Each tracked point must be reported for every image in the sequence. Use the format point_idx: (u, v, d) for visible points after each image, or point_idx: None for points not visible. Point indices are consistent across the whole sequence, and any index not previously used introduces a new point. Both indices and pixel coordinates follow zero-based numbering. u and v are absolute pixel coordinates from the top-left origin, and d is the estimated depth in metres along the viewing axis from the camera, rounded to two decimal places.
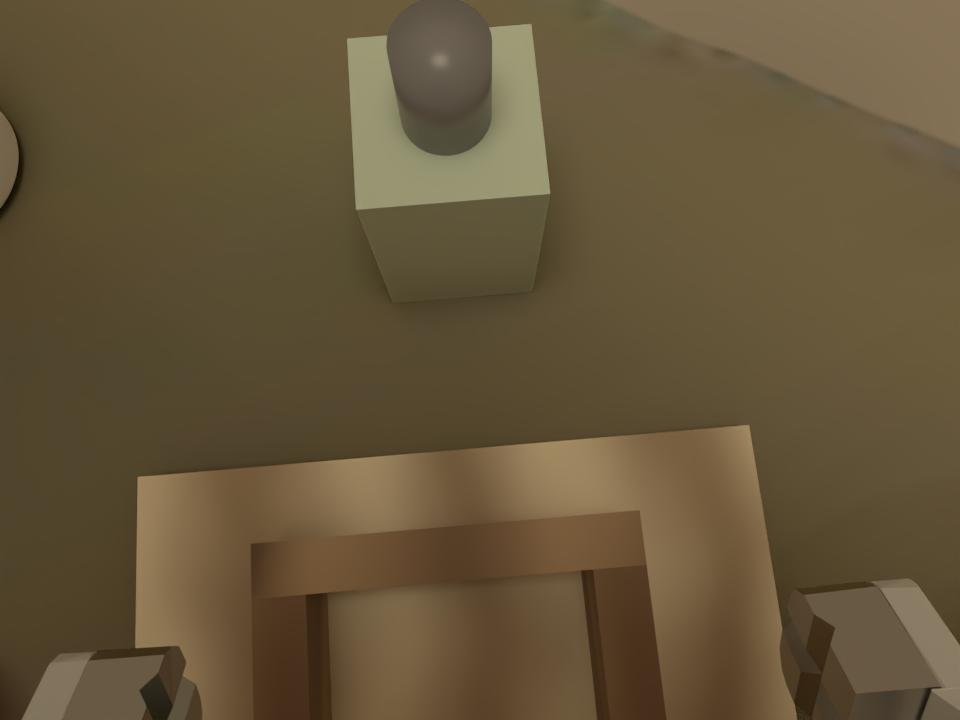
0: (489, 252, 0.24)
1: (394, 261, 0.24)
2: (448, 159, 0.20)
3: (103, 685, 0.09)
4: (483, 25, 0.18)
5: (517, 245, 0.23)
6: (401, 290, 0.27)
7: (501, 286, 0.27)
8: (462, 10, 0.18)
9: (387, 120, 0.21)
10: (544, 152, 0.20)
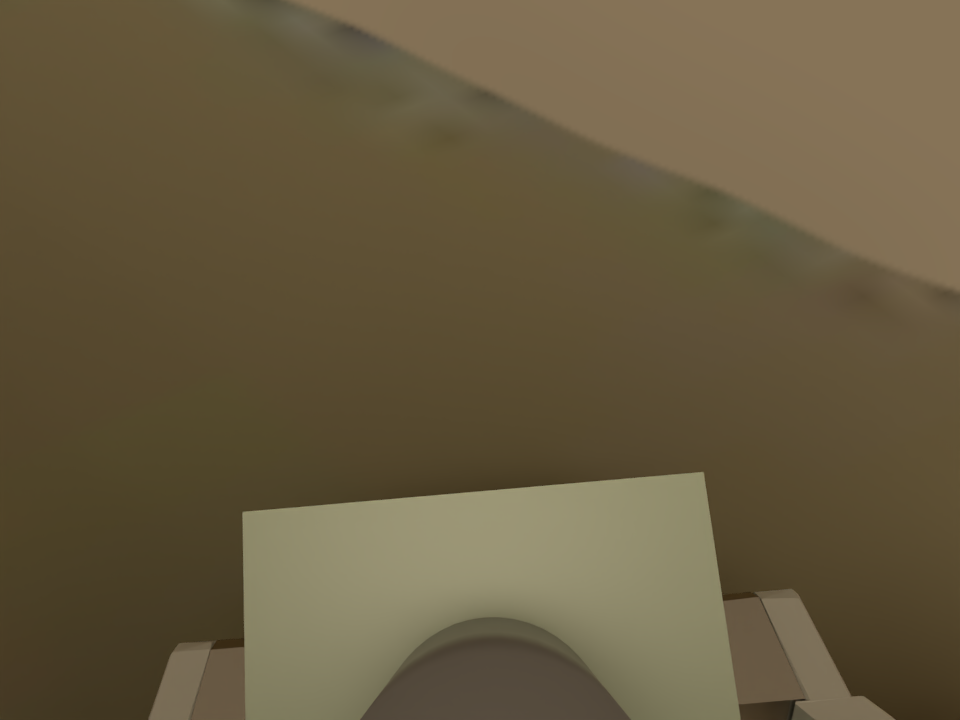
0: None
1: None
2: None
3: (230, 674, 0.09)
4: None
5: None
6: None
7: None
8: (575, 709, 0.05)
9: None
10: None
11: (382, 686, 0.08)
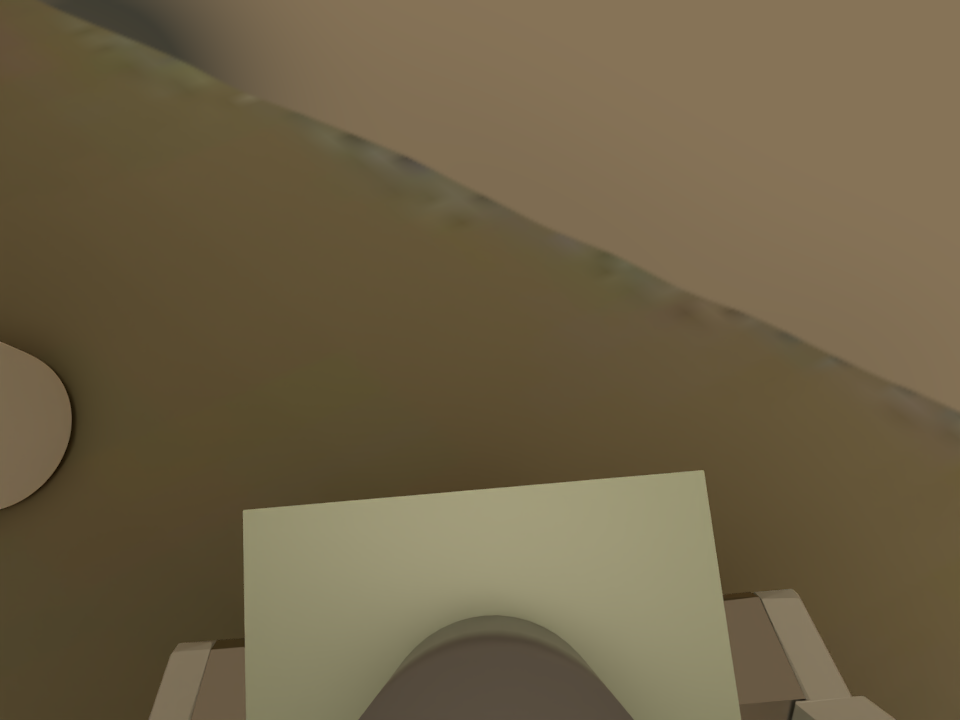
0: None
1: None
2: None
3: (230, 674, 0.09)
4: None
5: None
6: None
7: None
8: (575, 705, 0.05)
9: None
10: None
11: (382, 684, 0.08)
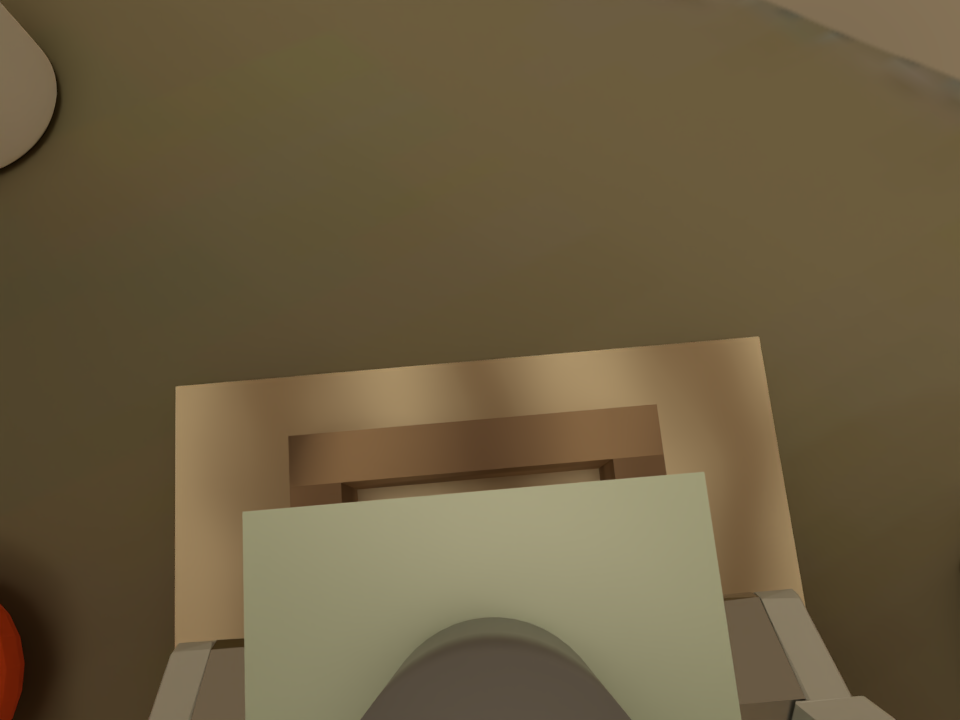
0: None
1: None
2: None
3: (230, 674, 0.09)
4: None
5: None
6: None
7: None
8: (575, 710, 0.05)
9: None
10: None
11: (382, 686, 0.08)
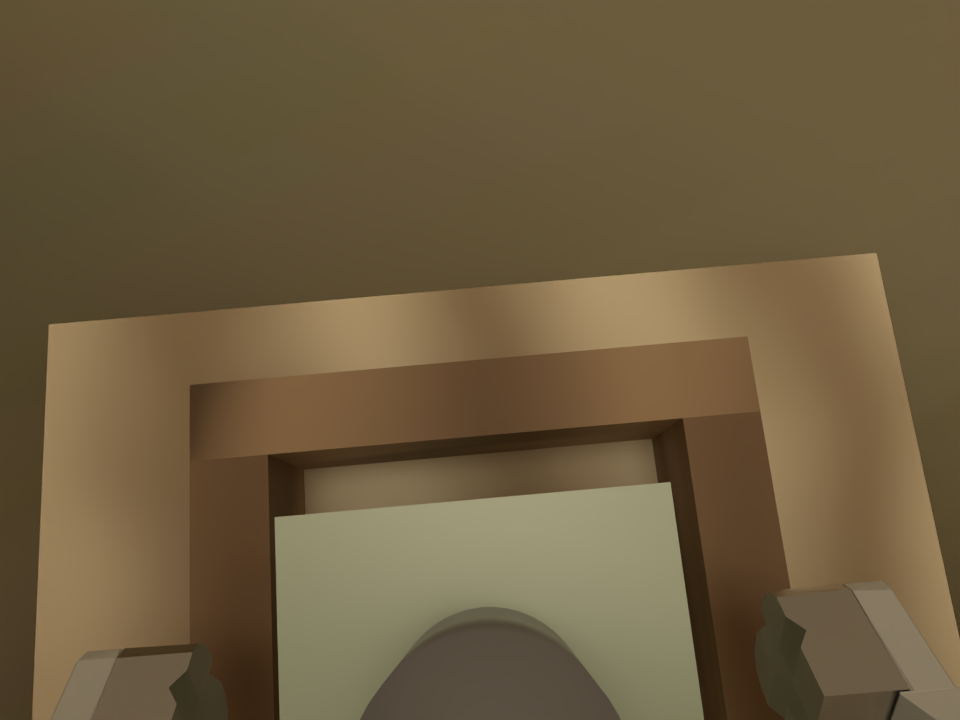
0: None
1: None
2: None
3: (132, 682, 0.09)
4: None
5: None
6: None
7: None
8: (552, 674, 0.07)
9: None
10: None
11: (395, 666, 0.10)
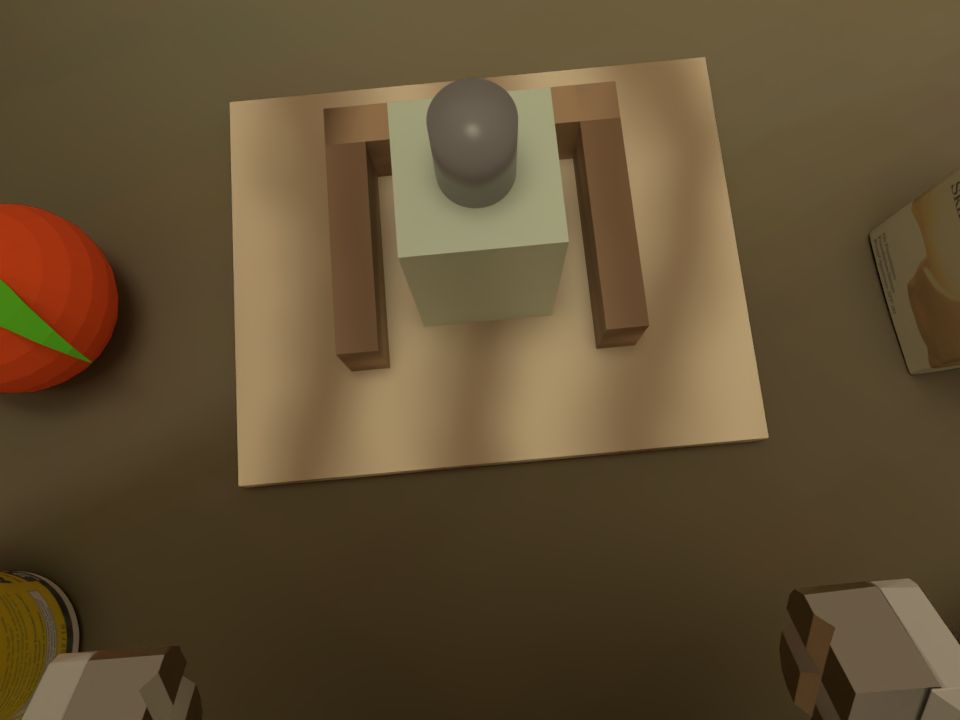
0: (513, 286, 0.27)
1: (428, 294, 0.27)
2: (478, 211, 0.23)
3: (103, 685, 0.09)
4: (510, 102, 0.21)
5: (539, 280, 0.26)
6: (433, 316, 0.29)
7: (523, 311, 0.30)
8: (492, 89, 0.21)
9: (423, 176, 0.23)
10: (563, 204, 0.23)
11: None
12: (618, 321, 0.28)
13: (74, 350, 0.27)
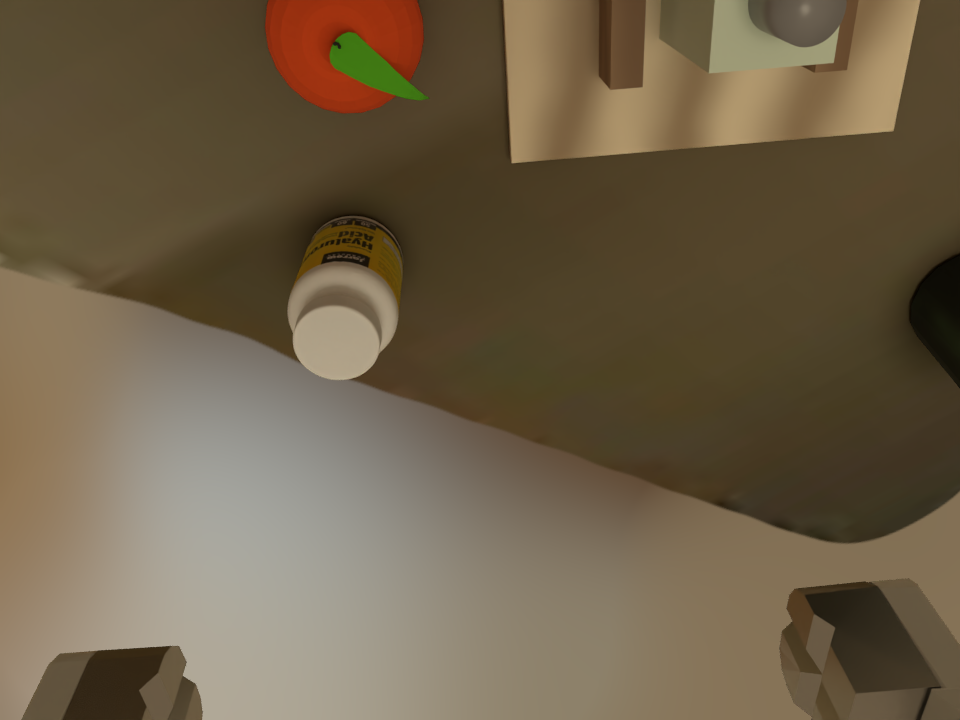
0: None
1: None
2: (773, 36, 0.31)
3: (103, 685, 0.09)
4: None
5: None
6: None
7: None
8: None
9: (738, 4, 0.30)
10: (837, 31, 0.31)
11: None
12: (824, 66, 0.36)
13: (423, 96, 0.35)
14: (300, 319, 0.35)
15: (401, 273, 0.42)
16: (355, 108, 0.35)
